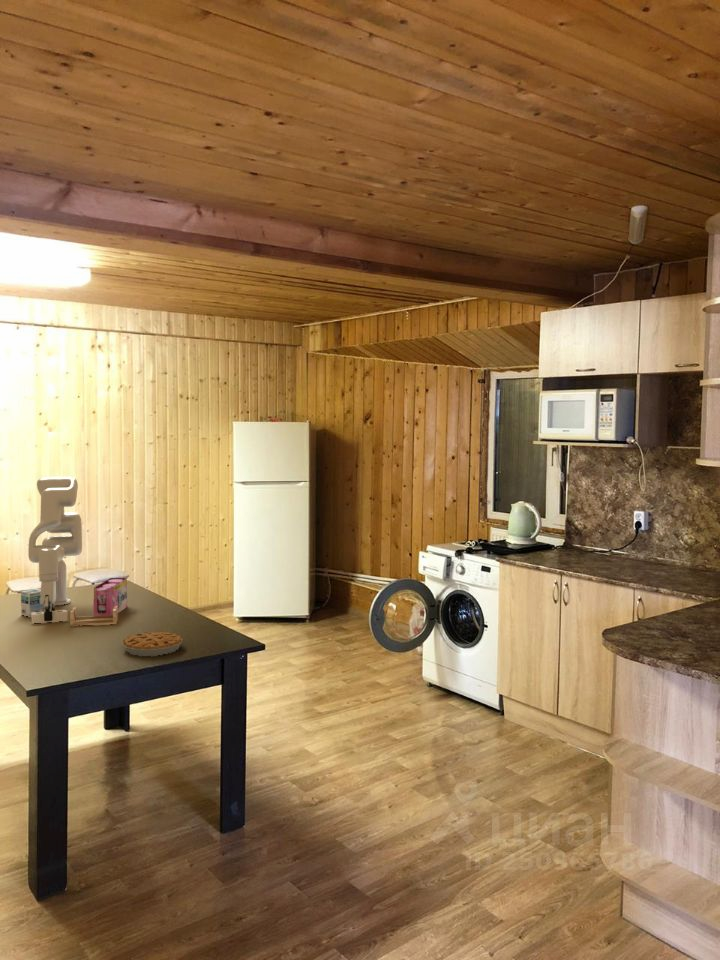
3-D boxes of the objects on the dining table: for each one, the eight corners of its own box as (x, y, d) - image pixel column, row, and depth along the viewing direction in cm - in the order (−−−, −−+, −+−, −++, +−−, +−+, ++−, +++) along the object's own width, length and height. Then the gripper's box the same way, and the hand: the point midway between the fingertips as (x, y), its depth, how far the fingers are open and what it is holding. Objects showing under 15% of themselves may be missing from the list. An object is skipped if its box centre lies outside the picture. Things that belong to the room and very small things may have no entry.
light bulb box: (29, 618, 343) (29, 593, 342) (20, 615, 346) (20, 591, 346) (51, 613, 352) (51, 589, 351) (42, 611, 355) (41, 587, 355)
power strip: (31, 621, 336) (31, 612, 336) (66, 618, 342) (66, 609, 341) (32, 624, 332) (31, 614, 331) (67, 621, 338) (67, 611, 337)
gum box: (110, 619, 341) (109, 588, 340) (91, 619, 341) (91, 588, 340) (127, 606, 365) (127, 577, 364) (110, 606, 365) (110, 577, 364)
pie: (193, 650, 297) (193, 637, 297) (140, 662, 282) (140, 648, 282) (163, 638, 313) (163, 626, 312) (111, 649, 298) (111, 636, 297)
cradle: (73, 621, 337) (73, 607, 337) (117, 619, 341) (117, 605, 341) (70, 626, 329) (70, 612, 329) (116, 624, 333) (115, 610, 332)
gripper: (43, 573, 343) (43, 614, 344) (35, 581, 326) (36, 624, 328) (61, 573, 345) (62, 614, 346) (54, 580, 328) (55, 623, 329)
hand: (49, 618), depth 337 cm, fingers closed on power strip, 5 cm apart
